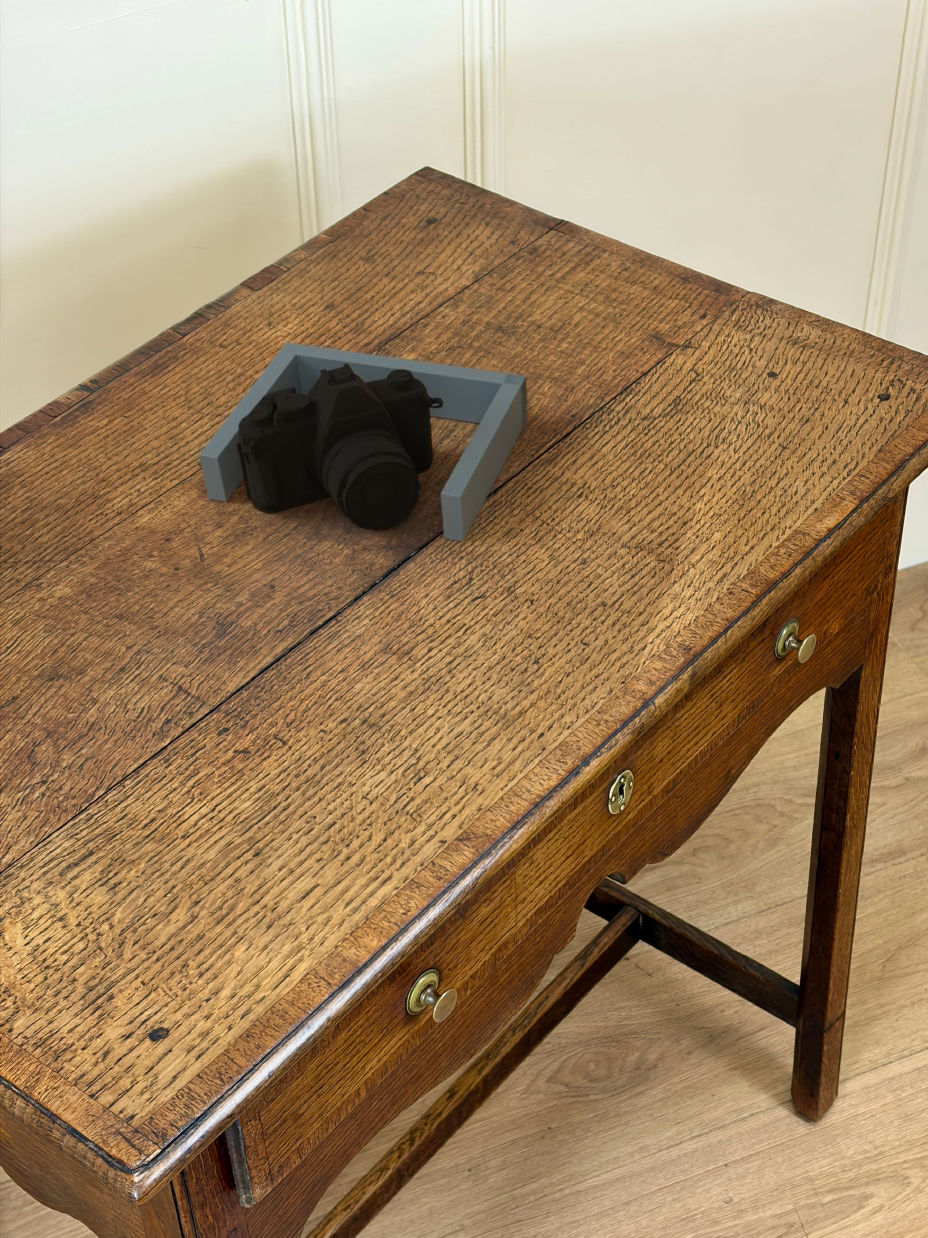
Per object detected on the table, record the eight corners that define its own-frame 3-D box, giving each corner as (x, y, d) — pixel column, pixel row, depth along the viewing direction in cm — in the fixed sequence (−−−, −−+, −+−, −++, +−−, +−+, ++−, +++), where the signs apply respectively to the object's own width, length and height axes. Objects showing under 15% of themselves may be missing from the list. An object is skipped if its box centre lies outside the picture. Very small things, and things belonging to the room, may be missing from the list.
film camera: (277, 564, 103) (258, 458, 97) (240, 490, 109) (219, 386, 103) (477, 508, 107) (470, 403, 101) (429, 440, 113) (421, 337, 107)
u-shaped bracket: (208, 499, 109) (198, 454, 106) (293, 385, 120) (286, 342, 117) (463, 542, 104) (460, 496, 101) (527, 419, 115) (526, 375, 112)
